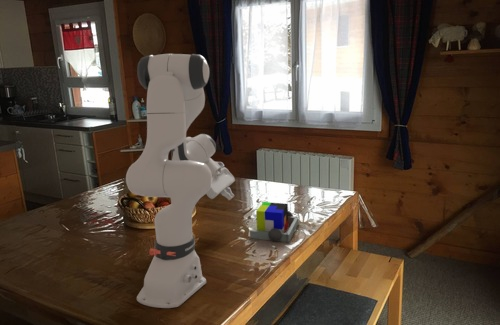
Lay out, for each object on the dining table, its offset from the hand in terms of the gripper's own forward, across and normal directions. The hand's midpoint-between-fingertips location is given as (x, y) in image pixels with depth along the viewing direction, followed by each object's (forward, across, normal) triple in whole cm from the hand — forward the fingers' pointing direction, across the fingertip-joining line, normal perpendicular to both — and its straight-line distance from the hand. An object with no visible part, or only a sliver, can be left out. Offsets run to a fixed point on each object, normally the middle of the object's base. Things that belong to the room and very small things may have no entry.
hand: (232, 198), depth 169 cm
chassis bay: (+21, +2, -4) cm, 21 cm away
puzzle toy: (+21, +1, -3) cm, 21 cm away
